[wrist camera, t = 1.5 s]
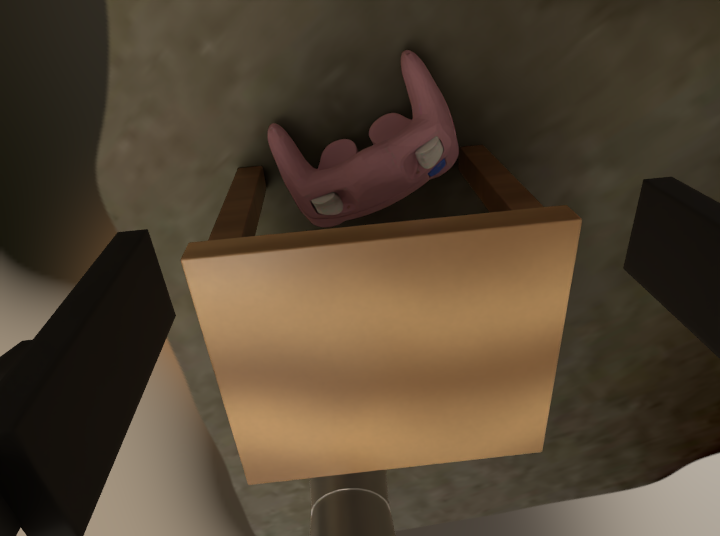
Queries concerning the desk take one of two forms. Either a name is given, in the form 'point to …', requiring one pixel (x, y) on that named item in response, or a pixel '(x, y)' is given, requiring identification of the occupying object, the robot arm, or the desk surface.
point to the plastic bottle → (351, 505)
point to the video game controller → (373, 157)
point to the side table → (386, 330)
